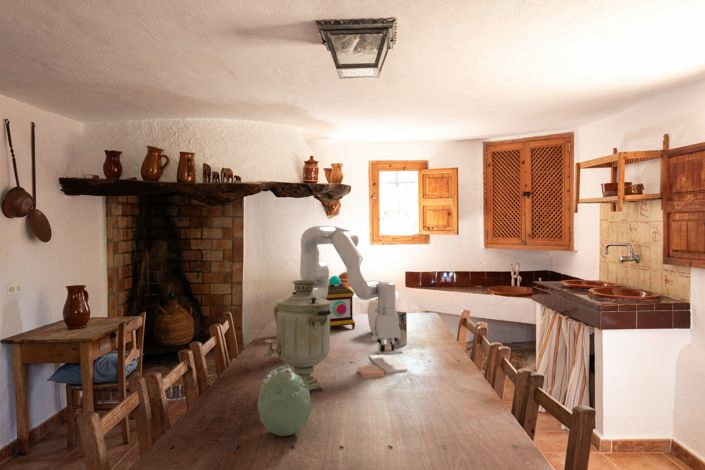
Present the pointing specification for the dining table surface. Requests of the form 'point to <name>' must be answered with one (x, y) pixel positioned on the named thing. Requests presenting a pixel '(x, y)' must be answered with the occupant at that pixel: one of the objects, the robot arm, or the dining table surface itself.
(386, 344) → the turner
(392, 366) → the board
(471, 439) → the dining table surface
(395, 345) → the coffee box
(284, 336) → the samovar
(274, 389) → the pale green egg shape
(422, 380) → the dining table surface
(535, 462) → the dining table surface
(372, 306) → the white faceted vase
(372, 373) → the tile
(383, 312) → the robot arm
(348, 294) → the decorative lantern
